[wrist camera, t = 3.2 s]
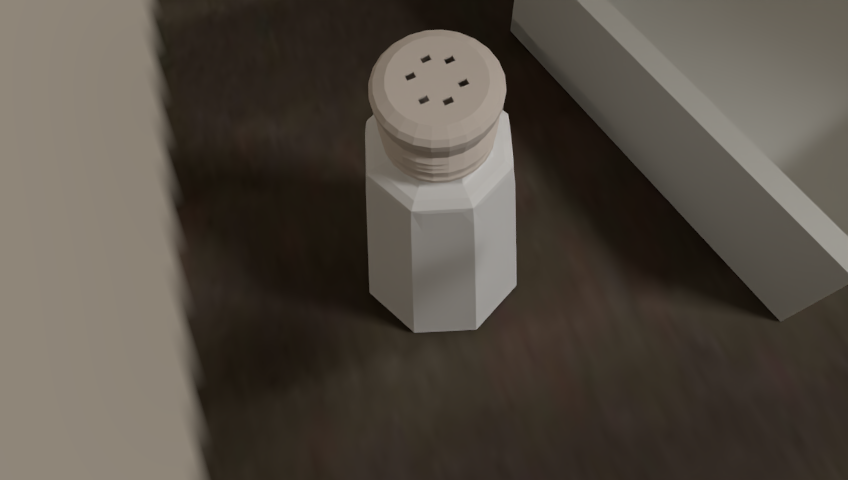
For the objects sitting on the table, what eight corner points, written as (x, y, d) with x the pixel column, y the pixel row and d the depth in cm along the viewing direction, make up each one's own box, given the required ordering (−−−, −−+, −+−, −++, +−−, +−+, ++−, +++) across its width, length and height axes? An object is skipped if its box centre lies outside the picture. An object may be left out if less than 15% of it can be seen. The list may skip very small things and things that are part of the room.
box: (775, -133, 30) (828, -237, 26) (1064, 98, 26) (1185, 18, 21) (509, 30, 27) (521, -56, 23) (780, 322, 23) (855, 279, 19)
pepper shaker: (339, 227, 25) (262, 28, 14) (476, 168, 25) (496, -63, 15) (402, 365, 23) (365, 249, 13) (547, 297, 23) (625, 134, 13)
